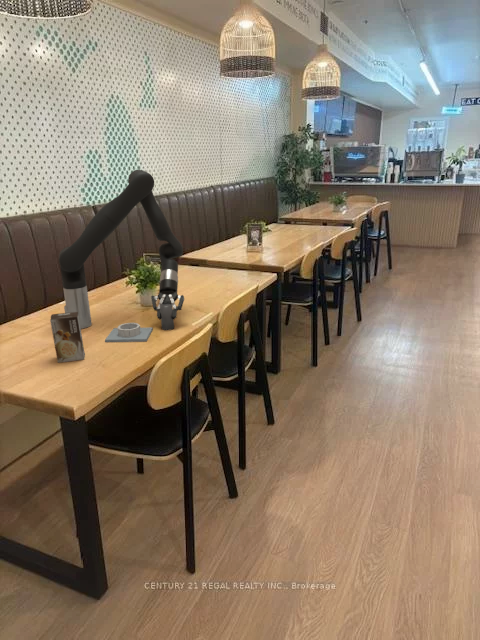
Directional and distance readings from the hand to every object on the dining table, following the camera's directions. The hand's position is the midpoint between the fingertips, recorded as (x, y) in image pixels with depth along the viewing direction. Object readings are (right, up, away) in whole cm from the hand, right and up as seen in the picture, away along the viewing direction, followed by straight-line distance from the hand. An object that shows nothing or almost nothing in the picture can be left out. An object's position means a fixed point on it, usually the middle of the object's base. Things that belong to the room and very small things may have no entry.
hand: (166, 318), depth 188 cm
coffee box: (-30, -14, -24) cm, 41 cm away
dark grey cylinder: (0, -4, +3) cm, 5 cm away
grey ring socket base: (-14, -7, -5) cm, 16 cm away
